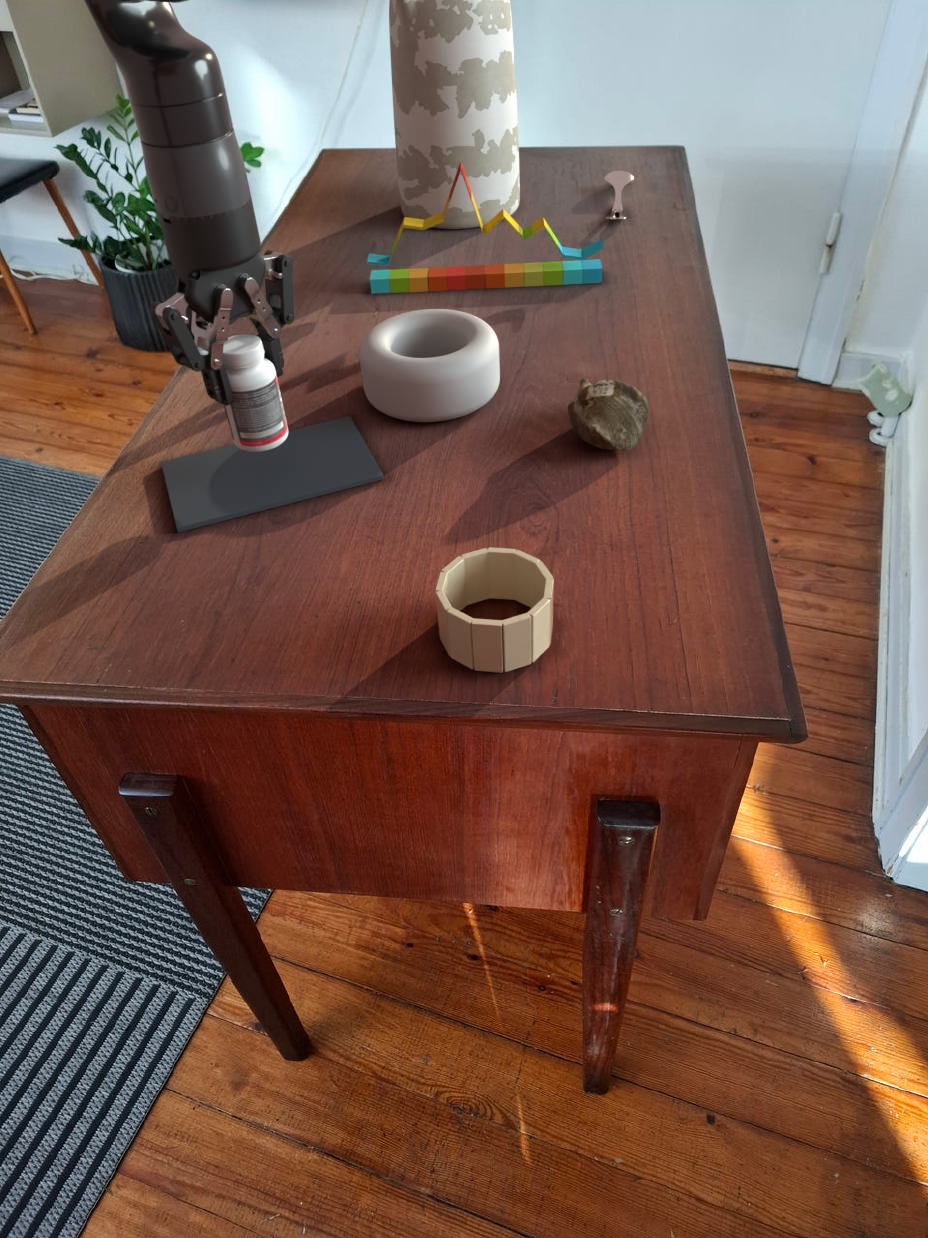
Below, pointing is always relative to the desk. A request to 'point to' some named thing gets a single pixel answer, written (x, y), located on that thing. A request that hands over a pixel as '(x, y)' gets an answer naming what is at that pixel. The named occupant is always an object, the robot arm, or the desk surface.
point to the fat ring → (430, 365)
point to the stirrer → (618, 191)
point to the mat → (267, 474)
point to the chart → (495, 274)
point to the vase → (454, 108)
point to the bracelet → (498, 579)
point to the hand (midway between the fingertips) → (248, 387)
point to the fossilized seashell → (609, 414)
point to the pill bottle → (253, 396)
